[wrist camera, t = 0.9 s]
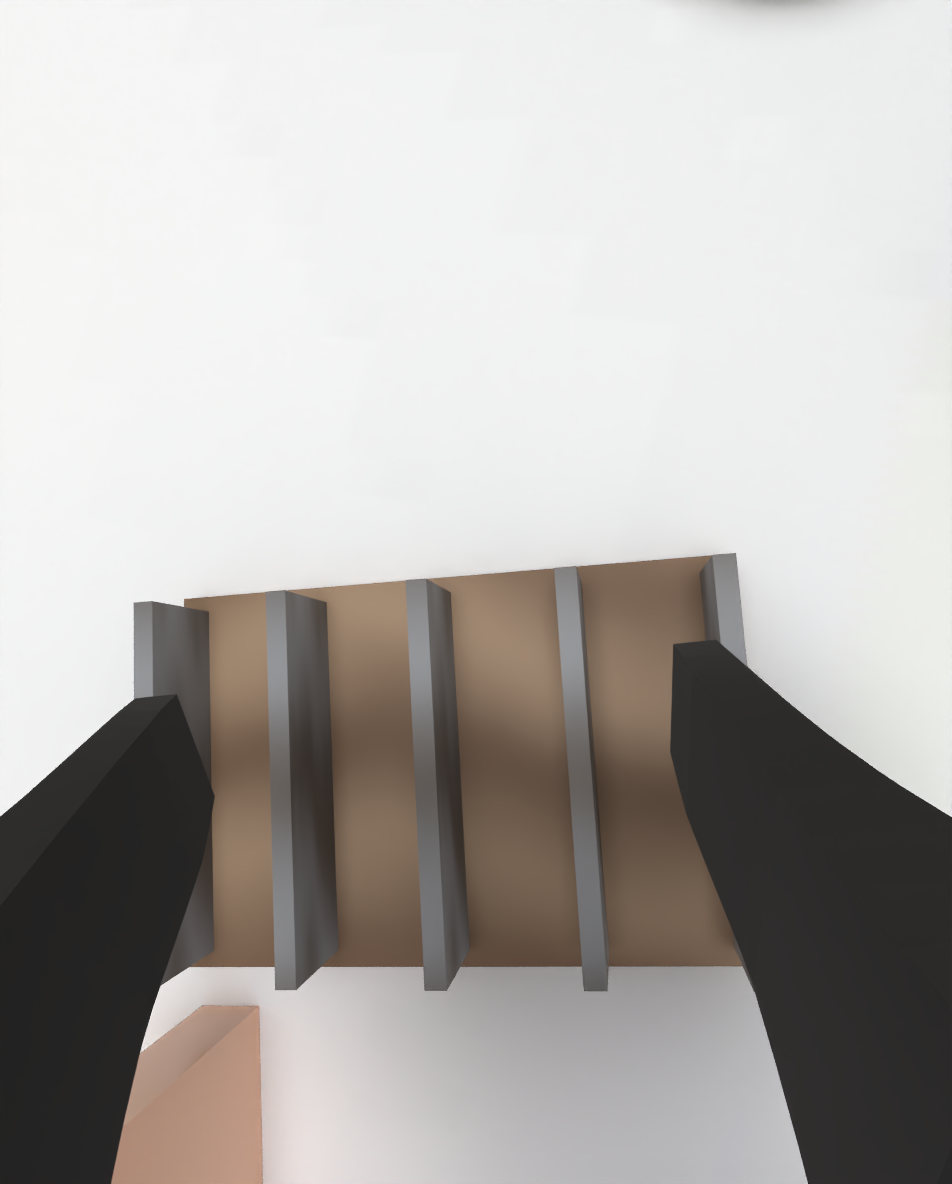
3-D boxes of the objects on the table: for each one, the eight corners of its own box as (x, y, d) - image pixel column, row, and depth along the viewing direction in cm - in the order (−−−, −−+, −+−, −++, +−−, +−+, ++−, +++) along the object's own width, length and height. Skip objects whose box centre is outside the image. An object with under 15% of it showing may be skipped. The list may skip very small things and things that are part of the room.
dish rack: (763, 956, 24) (794, 1013, 20) (201, 958, 27) (125, 1007, 23) (724, 558, 25) (745, 533, 21) (196, 601, 28) (124, 587, 24)
